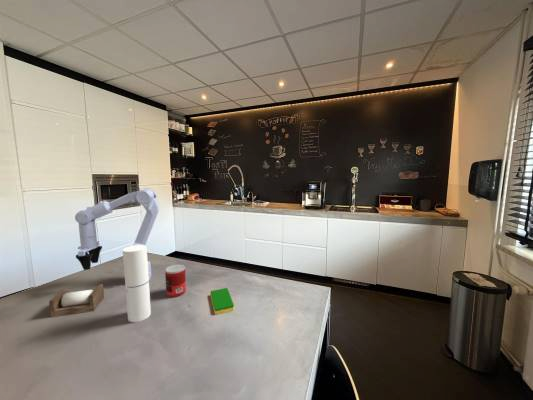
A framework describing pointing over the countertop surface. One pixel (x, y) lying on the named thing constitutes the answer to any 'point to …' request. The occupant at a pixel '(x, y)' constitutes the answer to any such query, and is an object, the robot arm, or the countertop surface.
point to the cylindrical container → (137, 282)
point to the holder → (94, 301)
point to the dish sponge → (221, 301)
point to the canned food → (175, 280)
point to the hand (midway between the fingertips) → (91, 265)
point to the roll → (76, 298)
